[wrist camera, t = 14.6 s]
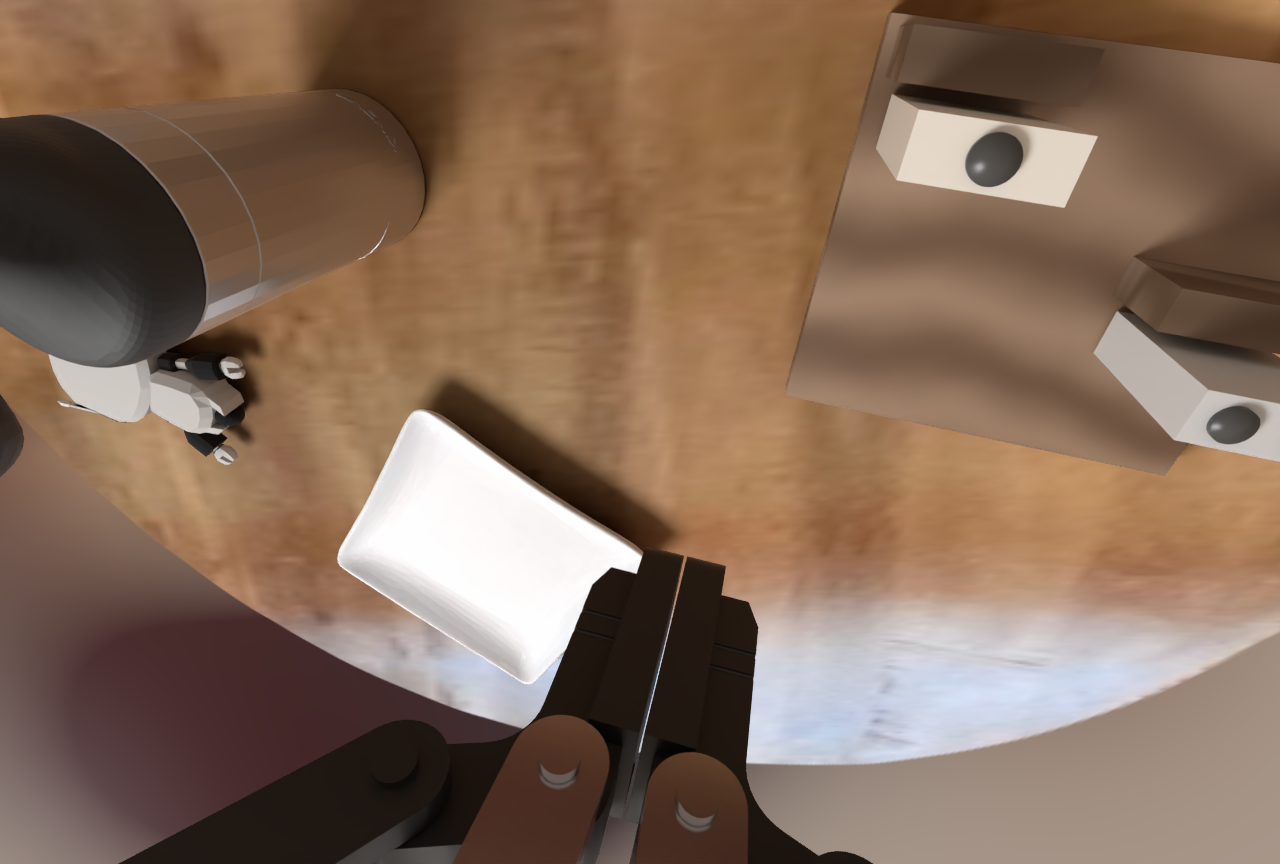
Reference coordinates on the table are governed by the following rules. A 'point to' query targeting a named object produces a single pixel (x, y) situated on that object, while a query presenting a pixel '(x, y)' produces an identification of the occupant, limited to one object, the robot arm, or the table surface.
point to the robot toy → (163, 394)
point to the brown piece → (1048, 241)
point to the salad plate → (479, 548)
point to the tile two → (1198, 386)
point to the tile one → (982, 150)
